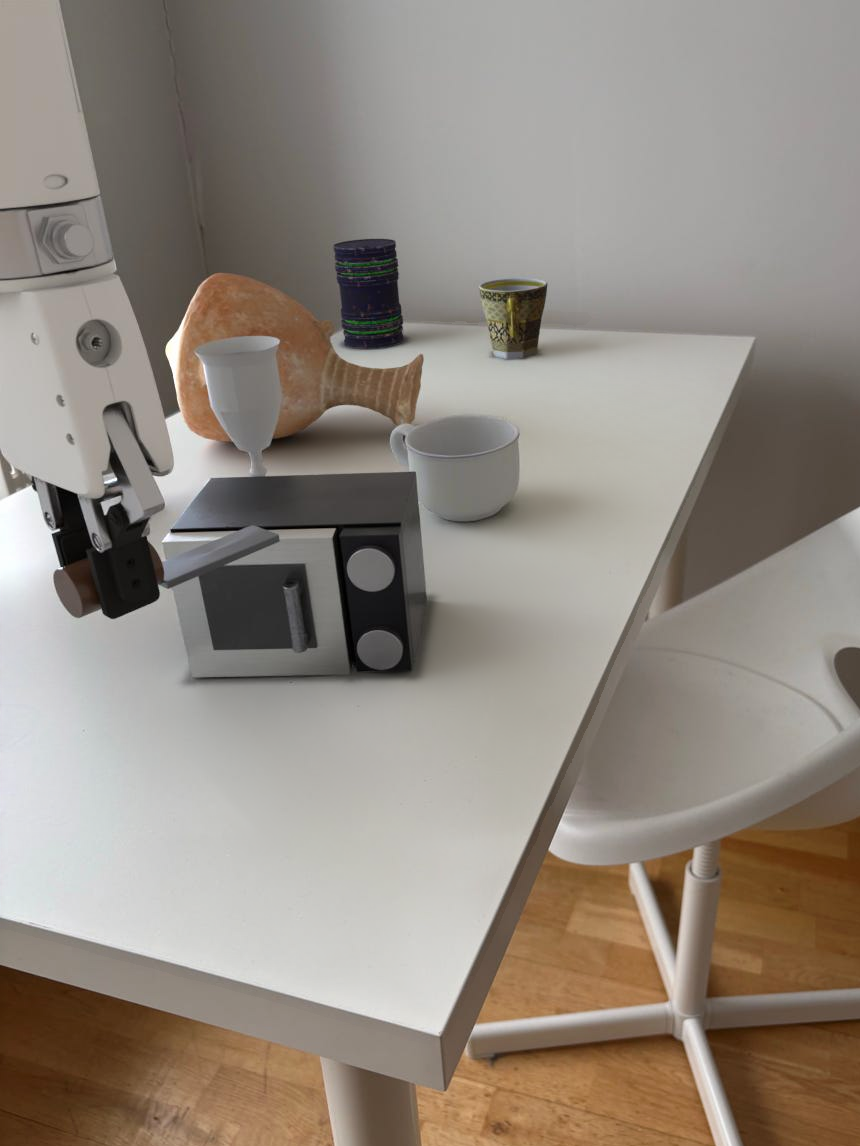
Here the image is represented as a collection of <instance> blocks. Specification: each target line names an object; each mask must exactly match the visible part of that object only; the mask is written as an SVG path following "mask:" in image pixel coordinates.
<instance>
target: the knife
mask: <svg viewBox="0 0 860 1146" xmlns="http://www.w3.org/2000/svg"><path fill="white" fill-rule="evenodd" d="M279 541H280V540H279V535H278V534H276V533H273V532H271V531H268V530H265V529H262V528H260V527H257V526H254V525H251V526H249V527H246V528H244V529H242V530H239V531H237V532H234V533H232V534H229V535H227V536H224V537H222V538H219V539H217V540H214V541H212V542H209V543H207V544H204V545H202V546H199V547H197V548H195V549H192V550H190V551H187V552H185V553H182V554H180V555H177V556H175V557H172V558H170V559H167V560H166V559H165V560H163V561H162V559H161V556H160V554H159V552H158V551H157V549H156V548H155V547H154V545H153V544H152V543H151V542H150V541H149V540H148V543H149V548H150V552H151V556H152V561H153V565H154V569H155V574H156V578H157V583H158V586H159V587H162V588H165V589H167V590H169V589H172V587H174V586H177V585H179V584H181V583H184V582H186V581H188V580H191V579H193V578H195V577H198V576H200V575H202V574H205V573H207V572H209V571H212V570H214V569H216V568H219V567H221V566H223V565H226V564H228V563H230V562H233V561H235V560H237V559H240V558H242V557H245V556H247V555H249V554H252V553H254V552H256V551H259V550H261V549H263V548H266V547H268V546H270V545H273V544H275V543H277V542H279ZM52 577H53V579H52V580H53V585H54V588H55V591H56V595H57V597H58V599H59V601H60V603H61V604H62V605H63V607H64V609H65V610H66V611H67V612H68V613H69V614H70V615H71V616H72V617H74V618H76V619H81V618H84V617H87V616H88V615H90V614H93V613H95V612H98V611H100V610H102V609H101V605H100V601H99V597H98V594H97V590H96V586H95V582H94V578H93V575H92V571H91V567H90V563H89V559H88V558H85V559H83V560H80V561H77V562H75V563H72V564H69V565H67V566H64V567H62V568H61V567H59V568H57V569H55V570H54V572H53V576H52Z"/></svg>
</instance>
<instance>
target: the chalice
mask: <svg viewBox="0 0 860 1146" xmlns="http://www.w3.org/2000/svg"><path fill="white" fill-rule="evenodd" d="M279 342H280V340H279V339H277V338H274V337H270V336H243V337H233V338H227V339H221V340H216V341H212V342H208V343H205V344H202V345H200V346H198V347H197V348H195V350H194V352H195V353H196V355H197V356H198V357H199V359H200V360H201V361H202V363H203V367H204V373H205V378H206V383H207V389H208V394H209V400H210V405H211V408H212V410H213V412H214V413H215V415H216V417H217V419H218V421H219V422H220V424H221V426H222V427H223V429H224V430H225V431H226V433H227V434H228V435H229V437H230V438H231V440H232V441H233V442H232V443H233V444H234V445H235V447H236V448H237V449H238V450H239V451H240V452H246V453H248V456H249V458H250V460H251V461H250V462H251V464H250V470H249V473H248V474H249V475H250V476H251V477H256V476H267V473H268V468H266V467H265V464H264V461H263V460H262V452H263V451H264V450H265V449H267V448H269V447H270V446H271V443H272V441H273V439H272V437H273V434H274V431H275V428H276V425H277V422H278V417H279V412H280V406H281V400H282V392H281V386H280V379H279V372H278V366H277V359H276V352H277V349H278V346H279Z"/></svg>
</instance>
